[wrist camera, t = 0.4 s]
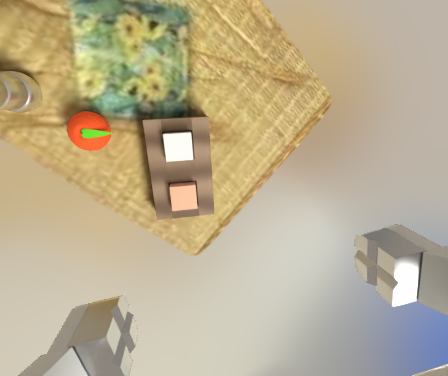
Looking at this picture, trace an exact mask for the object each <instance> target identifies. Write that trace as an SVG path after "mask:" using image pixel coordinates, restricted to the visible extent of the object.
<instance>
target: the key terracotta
mask: <svg viewBox="0 0 448 376" xmlns="http://www.w3.org/2000/svg"><path fill="white" fill-rule="evenodd" d="M169 188H170V196H171V204H172V211H179V210H189V209H198V208H197V196H196V184H195V181H188V182H176V183H170V187H169Z"/></svg>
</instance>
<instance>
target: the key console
mask: <svg viewBox="0 0 448 376" xmlns="http://www.w3.org/2000/svg"><path fill="white" fill-rule="evenodd" d="M143 127H144V134H145V141H146V147H147V154H148V161H149V168H150V175H151V182H152V189H153V196H154V203H155V209H156V216H157V220H162V219H171V218H181V217H191V216H200V215H210V214H214V199H213V183H212V166H211V150H210V134H209V117H208V116H200V117H180V118H160V119H145V120H143ZM186 131H191V137H192V149H193V160H184V161H170V162H166V155H165V146H164V138H163V134H164V133H169V132H186ZM188 181H195V184H196V196H197V208H198V209H189V210H179V211H172V204H171V196H170V188H169V187H170V183H176V182H188Z"/></svg>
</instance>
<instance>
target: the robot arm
mask: <svg viewBox="0 0 448 376" xmlns="http://www.w3.org/2000/svg"><path fill="white" fill-rule="evenodd" d="M355 247H356V248H357V249H358V252H357V253H356V255H355V266H356V268H357V271H358V273H359V274H360V276H361V277H362V278H363V279H364V280H365V281H366V282H367V283H369V284H372V285H375V286H376V290H377V293H378V294H380V295H381V296H382V297H383V298H384V299H385V300H386V301H387V302H388V303H389V304H390V305H391V306H392V307H394V306H398V305H402V304H406V303H410V302H414V301H418V302H420V303H421V304H423V305H426V306H428V307H430V308H432V309H434V310H437V311H439V312H441V313H443V314H445V315H447V316H448V246H444V247H442V246H440V245H438V244H436V243H434V242H432V241H430V240H428V239H427V238H425V237H423V236H421V235H419V234H417V233H415V232H413V231H412V230H410V229H408V228H406V227H404V226H402V225H398V224H395V225H391V226H388V227H385V228H382V229H379V230H375V231H371V232H367V233H364V234H360V235H357V236H356V238H355ZM128 307H129V303H128V301H127V299H126V297H125V296H118V297H114V298H109V299H105V300H101V301H97V302H92V303H88V304H85V305H80V306H76V307H75V308H73V309H72V311H71V312H70V314H69V316H68V317H67V319H66V321H65V323H64V325H63V326H62V328H61V330H60V332H59V333H58V335H57V337H56V338H55V340H54V342H53V344H52V345H51V347H50V349H49V351H48V353H47V354H45V355H41V356H40V357H39V358H38V359H37V360H35V361H34V362H33V363H32V364H31V365H30V366H29V367H28V368H26V369H25V370H24V371H23V372H22V373H21V374H20V375H19V376H129V375H130V370H131V365H132V361H133V360H132V358H131V355H130V353H131V351H132V350H133V349H134V348H135V346H136V341H137V325H136V321H135V318H134V315H133V314H131V313H129V312H127V310H128ZM411 376H448V364H446V365H443V366H440V367H437V368H434V369H430V370H427V371H424V372H421V373H418V374H415V375H411Z"/></svg>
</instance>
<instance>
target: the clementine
mask: <svg viewBox="0 0 448 376" xmlns="http://www.w3.org/2000/svg"><path fill="white" fill-rule="evenodd" d="M67 132H68V136H69V138H70V139H71V141H72V142H73V143H74V144H75V145H76V146H78V147H79V148H81V149H84V150H89V151H92V150H98V149H101V148H103V147H104V146H105V145H106V144H107V143H108V142H109V140H110V137H111V134H112V133H114V132H111V130H110V126H109V124H108V122H107V121H106V120H105V119H104V118H103V117H102V116H101V115H99V114H97V113H94V112H89V111H83V112H80V113H77V114H75V115H74V116H72V117H71V119H70V120H69V122H68V125H67Z"/></svg>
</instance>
